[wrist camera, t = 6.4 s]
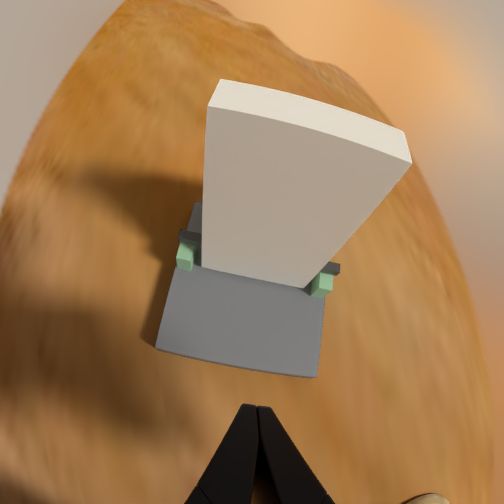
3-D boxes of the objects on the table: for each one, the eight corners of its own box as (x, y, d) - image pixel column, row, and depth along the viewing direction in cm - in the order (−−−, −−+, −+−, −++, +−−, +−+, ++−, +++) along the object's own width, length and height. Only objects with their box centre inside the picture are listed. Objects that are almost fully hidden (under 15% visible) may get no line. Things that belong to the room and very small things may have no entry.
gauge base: (309, 378, 17) (359, 370, 11) (158, 350, 16) (134, 330, 10) (322, 239, 21) (361, 187, 15) (195, 211, 20) (195, 146, 15)
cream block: (325, 292, 18) (446, 178, 8) (177, 261, 17) (158, 99, 7) (327, 269, 18) (436, 146, 8) (184, 239, 18) (176, 72, 8)
